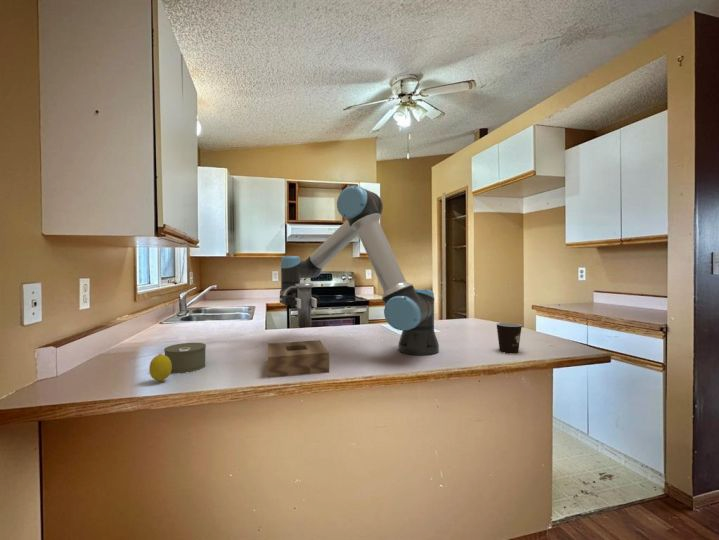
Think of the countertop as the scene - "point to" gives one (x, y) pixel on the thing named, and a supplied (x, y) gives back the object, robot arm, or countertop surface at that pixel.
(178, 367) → the can
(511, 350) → the coffee mug
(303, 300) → the pin
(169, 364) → the lemon
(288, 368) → the block
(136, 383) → the countertop surface
